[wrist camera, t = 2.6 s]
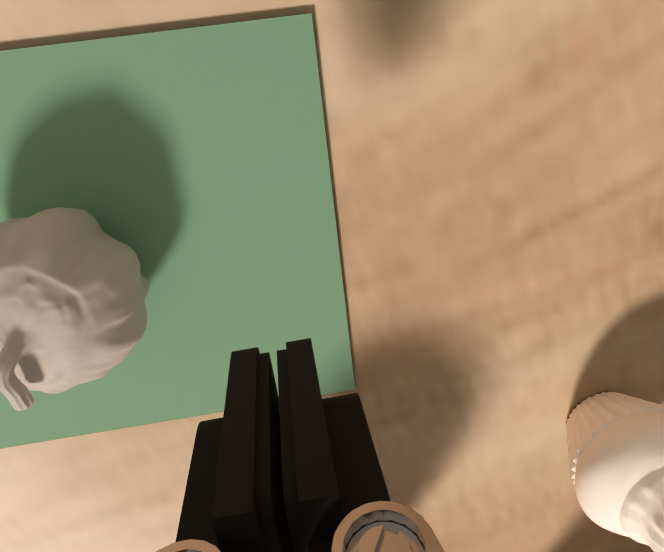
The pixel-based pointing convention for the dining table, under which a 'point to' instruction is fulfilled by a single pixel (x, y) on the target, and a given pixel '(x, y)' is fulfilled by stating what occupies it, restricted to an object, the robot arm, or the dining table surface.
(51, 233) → the garlic
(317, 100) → the felt mat
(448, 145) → the dining table surface
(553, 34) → the dining table surface
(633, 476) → the muffin
